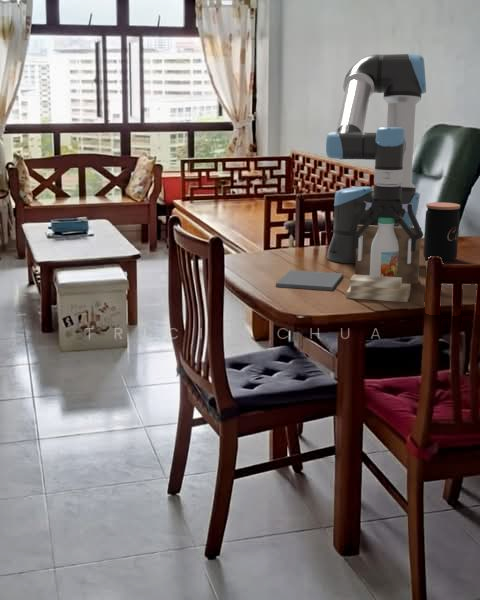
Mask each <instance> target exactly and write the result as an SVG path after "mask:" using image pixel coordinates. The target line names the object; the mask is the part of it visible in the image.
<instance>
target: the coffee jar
mask: <svg viewBox="0 0 480 600" xmlns="http://www.w3.org/2000/svg"><path fill="white" fill-rule="evenodd" d="M425 206H426V208H427V210H426V211H425V219H424V220H425V221H424V222H425V223H424V234H423V236H424V238H423V254H422V255H423V257H424V259H425V260H426V261H428V260H427V259H428V257H430V256H439V257H441V258H442V261H443V262H442V263H453V262H454V261H455V260H456V259H457V258H458V247H459V233H460V232H459V231H460V230H459V229H460V220H461V219H460V218H461V217H460V216H461V213H460V210H459V209H461V204H458V203H454V202H443V201H442V202H441V201H440V202H428V203H426V205H425Z"/></svg>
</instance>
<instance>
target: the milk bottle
mask: <svg viewBox="0 0 480 600" xmlns="http://www.w3.org/2000/svg"><path fill="white" fill-rule="evenodd" d="M394 222H395V218H388V217H379V218H378V230H377V233H376V235H375V237H374V239H373V242H372V246H371V258H370V276H386V277H398V258H399V245H398V241H397V238H396V236H395V233H394V225H395V224H394Z"/></svg>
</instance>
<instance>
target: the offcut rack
mask: <svg viewBox="0 0 480 600" xmlns="http://www.w3.org/2000/svg"><path fill="white" fill-rule="evenodd" d="M362 226H363V225H358V226H357V231H358V230H359V229H360V228H361V227H362ZM410 228H411V230H412V231H413V232H414V233H415V234H417V233H416V231H415V228H414V226H413V227H410ZM377 230H378V226H374V225H369V226H368V227H367V228H366V229H365V230H364V231H363V232H362V233H361V235H360V236H363V245H362V260H361V261H358V248H356V263H355V266H354V271H355V272H354V274H352V276H351V277H350V279H349V288H348V289H346V290H347V291H346V293H345V297H346V299H358V300H359V299H360V300H370V301H371V300H374V301H385V302H399V303H400V302H401V303H408V300H409V298H410V296H411V285H412V284H413V285H419V282H420V276H419V274H420V260H421V258H420V257H421V242H422V241H421V239H422V238H419V239H417V240H416V249H415V251H414V252H413V251H411V263H410V264H407V259H408V240H409V239H411V238H410V237H409V235H408V234H407V233H406V231H405V230H404V229H403V228H402V227H394V233H395V236H396V238H397V241H398V245H399V258H398V277H386V276H370V258H371V246H372V242H373V239H374V237H375V235H376V233H377Z"/></svg>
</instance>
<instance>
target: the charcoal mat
mask: <svg viewBox="0 0 480 600" xmlns="http://www.w3.org/2000/svg"><path fill="white" fill-rule="evenodd" d="M343 278H344V273H339V272H323V271H309V270H308V271H307V270H294V269H290V270H289V271H288V272H286V273H285V274H284V275H283V276H282V277H281V278H280V279H279V280H278V281H276V282H275V287H276V288H288V289H289V288H290V289H303V290H305V289H306V290H317V291H318V290H319V291H331V292H332V291H333V290H334V289H335V288H336V287H337V285H338V284H339V282H340V281H341V280H342V279H343Z"/></svg>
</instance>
